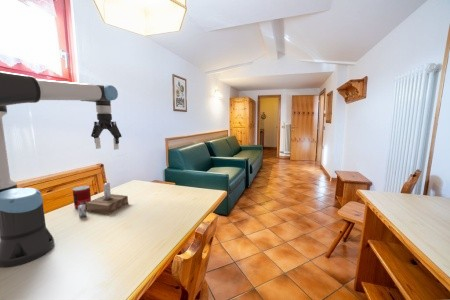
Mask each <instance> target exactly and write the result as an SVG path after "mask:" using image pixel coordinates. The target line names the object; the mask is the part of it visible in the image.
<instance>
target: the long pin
mask: <svg viewBox="0 0 450 300" xmlns="http://www.w3.org/2000/svg"><path fill="white" fill-rule="evenodd" d="M102 185H103V193H104V195H103V196H105V201H109V200H111V194H112V192H111V183H110V182H105V183H103V184H102Z"/></svg>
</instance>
